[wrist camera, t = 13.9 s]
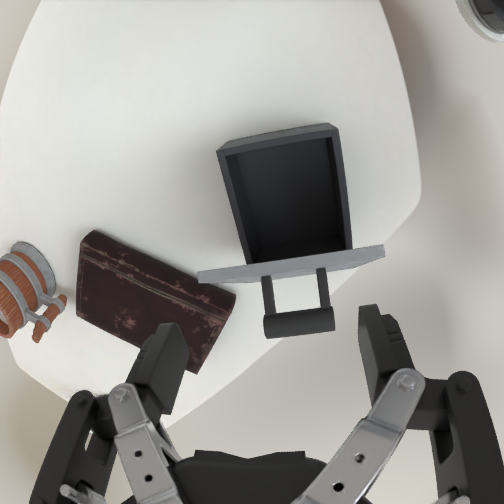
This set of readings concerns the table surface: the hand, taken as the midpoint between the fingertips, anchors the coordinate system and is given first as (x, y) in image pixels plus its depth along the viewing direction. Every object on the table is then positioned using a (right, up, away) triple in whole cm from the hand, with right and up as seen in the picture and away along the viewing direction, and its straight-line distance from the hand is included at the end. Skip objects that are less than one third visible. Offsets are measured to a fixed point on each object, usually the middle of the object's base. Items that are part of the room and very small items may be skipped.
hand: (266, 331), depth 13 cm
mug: (-44, -1, +38) cm, 58 cm away
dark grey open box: (+4, +11, +25) cm, 28 cm away
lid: (+3, +2, +15) cm, 15 cm away
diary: (-18, -5, +37) cm, 41 cm away
